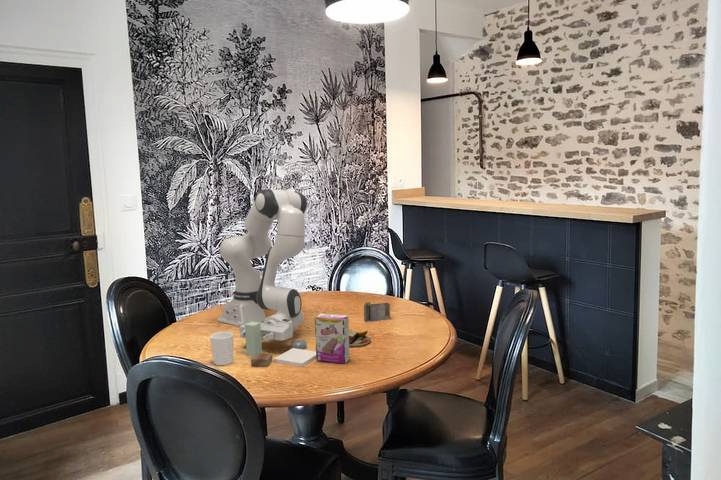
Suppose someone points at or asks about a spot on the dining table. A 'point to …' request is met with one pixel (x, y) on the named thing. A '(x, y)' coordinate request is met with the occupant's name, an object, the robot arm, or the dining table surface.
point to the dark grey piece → (376, 311)
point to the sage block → (253, 338)
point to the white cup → (222, 348)
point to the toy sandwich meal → (358, 338)
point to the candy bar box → (332, 338)
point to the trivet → (296, 357)
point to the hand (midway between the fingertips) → (252, 337)
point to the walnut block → (261, 360)
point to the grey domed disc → (299, 344)
